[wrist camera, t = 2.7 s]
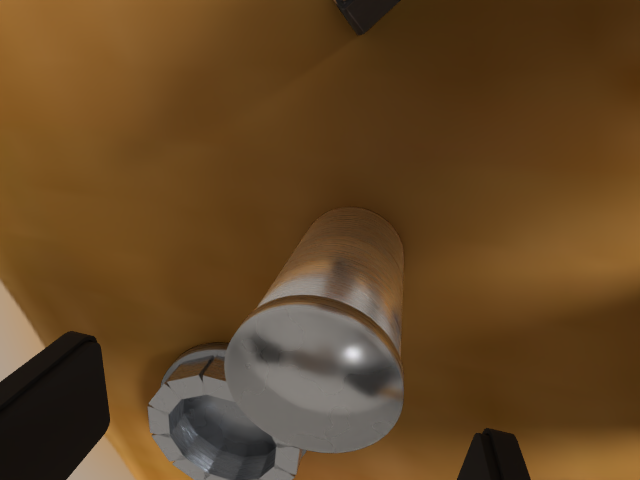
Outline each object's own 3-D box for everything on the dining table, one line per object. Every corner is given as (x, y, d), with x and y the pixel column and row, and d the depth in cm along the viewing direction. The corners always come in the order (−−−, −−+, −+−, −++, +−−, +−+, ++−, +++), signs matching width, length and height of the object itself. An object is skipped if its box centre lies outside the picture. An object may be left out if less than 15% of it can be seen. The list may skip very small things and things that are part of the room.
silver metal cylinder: (306, 195, 16) (225, 289, 9) (416, 215, 16) (423, 334, 9) (296, 289, 18) (223, 426, 11) (394, 310, 18) (384, 472, 10)
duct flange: (163, 326, 21) (137, 353, 19) (323, 365, 20) (313, 399, 18) (171, 439, 25) (149, 472, 23) (305, 478, 23) (295, 517, 21)
